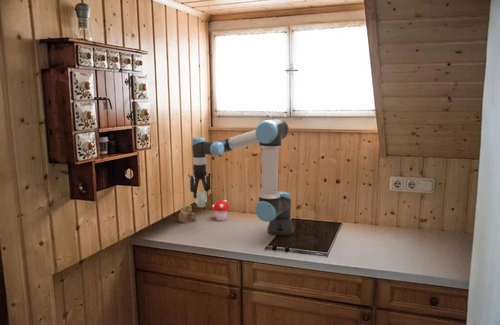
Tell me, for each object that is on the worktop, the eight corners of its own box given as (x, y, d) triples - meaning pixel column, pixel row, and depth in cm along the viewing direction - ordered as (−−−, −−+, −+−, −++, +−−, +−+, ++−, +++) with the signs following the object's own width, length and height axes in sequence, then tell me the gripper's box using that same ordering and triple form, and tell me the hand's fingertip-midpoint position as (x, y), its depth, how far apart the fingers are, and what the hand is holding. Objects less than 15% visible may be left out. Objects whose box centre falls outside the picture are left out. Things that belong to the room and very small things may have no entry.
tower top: (187, 211, 271) (187, 204, 270) (191, 213, 267) (191, 205, 266) (180, 213, 268) (180, 205, 267) (184, 215, 264) (184, 207, 263)
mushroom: (217, 222, 265) (216, 203, 263) (209, 217, 274) (209, 199, 272) (232, 219, 270) (232, 201, 268) (224, 215, 279) (224, 197, 277)
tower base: (189, 218, 274) (189, 211, 273) (195, 221, 268) (195, 213, 267) (178, 220, 269) (178, 213, 268) (184, 223, 263) (184, 215, 262)
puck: (202, 204, 260) (202, 191, 259) (207, 206, 256) (206, 193, 255) (195, 205, 257) (194, 192, 256) (199, 207, 253) (199, 194, 252)
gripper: (209, 161, 261) (210, 198, 265) (182, 165, 250) (184, 203, 254) (215, 162, 255) (217, 201, 259) (189, 166, 244) (190, 206, 248)
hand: (201, 202), depth 256 cm, fingers closed on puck, 5 cm apart
